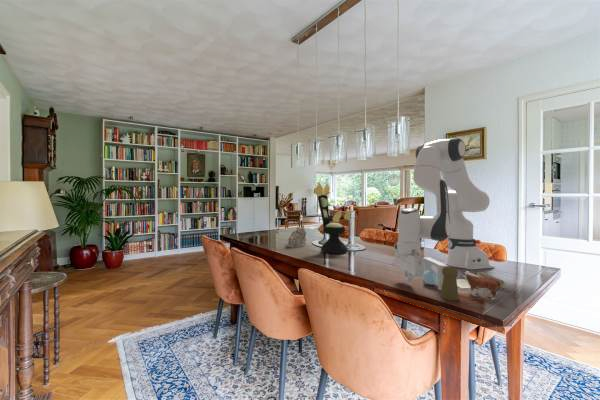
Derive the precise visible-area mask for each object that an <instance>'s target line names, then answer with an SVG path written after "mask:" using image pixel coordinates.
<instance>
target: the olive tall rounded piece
mask: <svg viewBox="0 0 600 400" xmlns="http://www.w3.org/2000/svg"><path fill="white" fill-rule="evenodd" d="M442 273H443V275H444V278H443V284H442V290H440V291H441V292H440V297H441V299H444V300H447V301H448V300H449V301H457V300H458V301H459V299H460V297H459V290H458V289H459V287H457V280H456V279H457V277H458V274H459V271H458V269H457V267H453V266H448V267H444V268H443V269H442Z"/></svg>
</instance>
